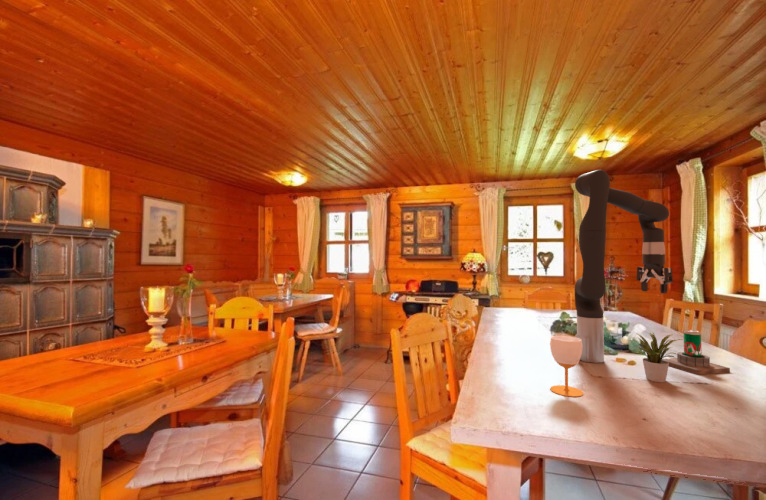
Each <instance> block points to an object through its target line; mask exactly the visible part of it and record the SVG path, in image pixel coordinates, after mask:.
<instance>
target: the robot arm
mask: <svg viewBox="0 0 766 500" xmlns="http://www.w3.org/2000/svg"><path fill="white" fill-rule="evenodd" d="M610 182H611V180H610V176H609V174H608V172H606V171H605V170H603V169H596V170H593V171H590V172H587V173H583V174H581V175H579V176H578V177H577V178H576V180H575V183H574V186H575V187H574V188H575V190H576V192H577V193H579V195H581V196H585V197H587V198H589V203H588V207H587V210H586V212H585V214H584V216H583V218H582V220H581V222H580V224H579V227H578V228H579V230H578V245H579V251H580V256H581V259H582V276H581V277H579V278H578V279H577V280H576V282H575V284H574V305H575V310H576V334H575V335H574V337H576V338H579V339H581V340H582V355H581V358H580V360H579V361H582V362H584V363H595V364H597V363H598V364H599V363H604V362H605V346H604V345H605V340H604V336H605V334H604V333H605V332H604V330H605V327H604V310H603V308H602V306H601V299H602V298H603V297H604V295H605V293H606V290H607V289H606V288H607V286H606V276H605V274H606V273H605V256H606V239H607V238H606V237H607V227H606V226H607V225H606V224H607V207H608V204H611V205H613V206H614V207H618V208H619V209H621V210H623V211H626V212H628V213H630V214H632V215H636V216H637V218H638V223H639V225H640V229H641V231H642V255H641V257H642V265H643V266H637V268H636V281H639V282H640V287H641V289H640V290H641V291H642V292H648V290H649V289H648V287H649V286H648V285H649V284H648V282H649V280H650V279H651V278H653V279H656V280H658V281H659V283H660V284H659V285H660V287H659V289H660V294H667V293H668V284H672V283H673V282H674V280H673V279H674V278H673V268H672V267H665V265H666V246H665V231H664V229H663V228H662V227H661V228H660V227H656V225H655V223H660V222H665V221H666V220H667V219H668V218H669V216H670V210H669V209H668V208H667V206H666V205H664V204H662V203H660V202H657V201H652V200H648V199H644V198H642V197H641V196H638V195H636V194H635V193H632V192H630V191H629V192H628V191H626V190H621V189H616V188H612V187H611V185H610V184H611V183H610Z"/></svg>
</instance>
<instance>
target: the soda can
mask: <svg viewBox="0 0 766 500" xmlns="http://www.w3.org/2000/svg"><path fill="white" fill-rule="evenodd" d="M682 335H683V338H682V339H685V340H683V352H684V355H685V356H689V357H696V358H702V355H703V354H702V353H703V352H702V351H703V350H702V349H703V347H702V345H703V344H702V333H701V332H700V331H699V330H696V329H684V331H683V332H682Z"/></svg>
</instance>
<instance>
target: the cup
mask: <svg viewBox="0 0 766 500" xmlns="http://www.w3.org/2000/svg"><path fill="white" fill-rule="evenodd" d="M549 345H550V352H551V356H552V358H553V360H554V361H555V362H556V363H557V365H559V366H560V367H563V368H564V385H560V384H559V385H558V384H557V385H552V386H551V387H550V390H551V392H552V393H554V394H556V395H559V396H562V397H563V396H564V397H568V398H578V397H579V398H580V397H582V396H584V391H582V390H581V389H579V388H577V387H574V386H570V385H569V369H570V368H573V367H575V366H577V365H578V364H579V362H580V361H581V360H580V358H581V355H582V340H581V339H579V338H576V337H575V336H572V335H571V336H569V335H553V336H551V337H550V343H549Z"/></svg>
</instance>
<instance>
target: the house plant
mask: <svg viewBox="0 0 766 500" xmlns="http://www.w3.org/2000/svg"><path fill="white" fill-rule="evenodd" d="M645 331H646V330H645ZM646 332H647V333H648V331H646ZM635 333H636V332H635ZM636 335H638V336H639V337H640V338H639V337H637V339H638V340H639V344H640V346H635V348H636V349H639V350H641V351H643V352H645V353H646V354H645V353H643V352H641V351H637V353H638V354H639V353H640V354H642V355H644V356H646V357H644V358H642V363H643V367H644V373H645V378H646V379H647V380H648V381H652V382H655V383H657V382H658V383H666V381H667V376H668V370H669V367H670V366H669V362H667V361H665V360H662V359H665V357H667V358H668V357H669V358H670V357H671V358H675V356H674V355H676V356H677V352H668V351H669V350H670V349H672V348H673V347H669V346H670V345H671V344H672V343H674V342H677V341H684V340H685V339H683V338H682V339H681V338H679V339H669V338H670V337H671V336H672V334H669V335H665V336H664V337H663V338H662V340H661V341H660V343H659V346H658V339H657V337H656V335H655V333H654V332H652V333H651V332H649V336H650V337H651V339H652V340H651V341H650V344H649V342H648V340H647V339H646V338H644V337H643V336H642V335H641V334H639V333H636ZM634 337H635V338H636V336H634ZM667 352H668V353H667ZM670 354H674V355H670Z"/></svg>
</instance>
